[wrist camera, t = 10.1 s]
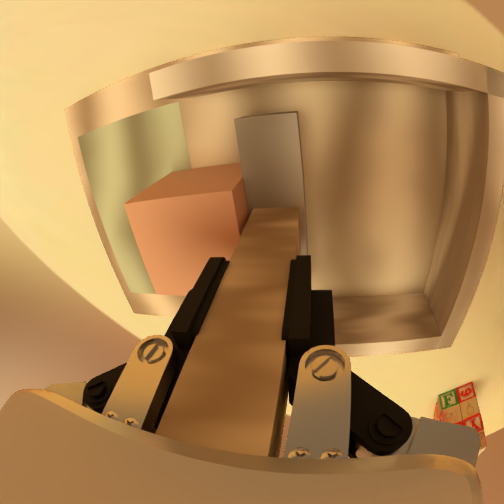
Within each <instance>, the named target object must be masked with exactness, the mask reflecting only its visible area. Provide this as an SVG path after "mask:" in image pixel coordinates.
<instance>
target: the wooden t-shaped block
mask: <svg viewBox="0 0 504 504" xmlns="http://www.w3.org/2000/svg"><path fill="white" fill-rule="evenodd" d="M234 124H235V130H236V137H237V143H238V150H239V156H240V163H241V169H242V176H243V182H244V189H245V196H246V202H247V209H248V215H249V219H248V221H247V223H246V225H245V227H244V229H243V232H242V234H241V236H240V238H239V240H238V243H237V245H236V247H235V249H234V252H233V254H232V256H231V258H230V260H229V261H230V262H229V265H228V267H227V269H226V272H225V274H224V276H223V278H222V281H221V283H220V285H219V287H218V290H217V292H216V294H215V297H214V299H213V301H212V304H211V306H210V308H209V311H208V313H207V315H206V317H205V320H204V322H203V324H202V327H201V329H200V331H199V334H198V335H196V338H195V340H194V342H193V345H192V347H191V349H190V352H189V354H188V356H187V359H186V361H185V363H184V366H183V368H182V371H181V373H180V375H179V378H178V380H177V382H176V385H175V387H174V390H173V392H172V394H171V397H170V399H169V402H168V404H167V406H166V409H165V411H164V414H163V416H162V419H161V421H160V423H159V426H158V428H157V431H156V433H155V434H156V435H160V436H163V437H167V438H170V439H174V440H177V441H181V442H185V443H189V444H193V445H198V446H202V447H207V448H212V449H217V450H223V451H229V452H235V453H241V454H249V455H257V456H266V457H278V458H279V453H280V447H281V441H282V434H283V427H284V420H285V413H286V406H287V398H288V391H289V390H288V376H287V374H288V369H287V354H286V340H281V334H282V325H283V318H284V311H285V303H286V295H287V287H288V279H289V271H290V262H291V259H296V256H297V255H308V244H307V220H306V202H305V186H304V172H303V160H302V149H301V138H300V128H299V119H298V111H290V112H277V113H266V114H257V115H249V116H244V117H240V118H236V119H234Z"/></svg>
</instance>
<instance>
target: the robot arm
mask: <svg viewBox="0 0 504 504" xmlns="http://www.w3.org/2000/svg"><path fill="white" fill-rule="evenodd" d="M229 262H230V261H226V258H225V257H210V258H209V260H208V262H207V263H206V265H205V267H204V269H203V271H202V272H201V274H200V276H199V278H198V280H197V281H196V283H195V285H194V287H193V289H191V290H190V291H189V292H188V293H187V295H186V297H185V299H184V301H183V302H182V304H181V306H180V308H179V310H178V312H177V313H176V315H175V317H174V319H173V321H172V323H171V324H170V326H169V328H168V330H167V332H166V334H165V336H162V335H153V336H149V337H147V338H145V339H143V340H142V341H141V342H140V343H139V344H138V345H137V346H136V347H135V349H134V351H133V353H132V355H131V357H130V358H129V360H128V362H127V363H125V364H123V365H120V366H118V367H116V368H114V369H112V370H110V371H108V372H105V373H103V374H101V375H99V376H96V377H95V378H93V379H91V380H90V381H89V382H88V383H86V382H73V383H59V384H51V385H49V386H47V387H46V388H45V389H44V390H42V389H23V390H19V391H17V392H15V393H14V394H12V395H11V397H10V398H9V399H8V400H7V402H6V403H5V404H4V406H3V407H2V409H1V410H0V504H484V502H483V493H482V487H481V482H480V479H479V476H478V474H477V471H476V470H475V465H476V461H477V458H478V454H479V449H480V436H479V433H478V432H477V431H476V430H475V429H474V428H471V427H469V426H463V425H458V424H453V423H448V422H443V421H438V420H434V419H429V418H425V417H420V418H419V419H417V418H413V417H410V415H409V414H408V413H407V412H406V411H405V410H404V409H403V408H402V407H400V406H399V405H397V404H396V403H395V402H393V401H392V400H390V399H389V398H388V397H386V396H385V395H383V394H382V393H381V392H379V391H378V390H376V389H375V388H374V387H372V386H371V385H370V384H368V383H367V382H365V381H364V380H363V379H361V378H360V377H359V376H357V375H356V374H355V373H353V372H352V371H351V363H350V358H349V357H348V355H347V354H346V353H345V352H344V351H343V350H342V349H340V348H338V347H335V329H334V311H333V297H332V290H312V287H311V255H297V256H296V259H291V262H290V271H289V279H288V287H287V295H286V303H285V311H284V318H283V325H282V334H281V340H286V354H287V369H288V374H287V376H288V390H289V403H290V404H291V405H292V406H293V407H292V413H291V419H290V425H289V430H288V435H287V441H286V446H285V451H284V456H283V458H278V457H266V456H257V455H249V454H241V453H235V452H229V451H223V450H217V449H212V448H207V447H202V446H198V445H193V444H189V443H185V442H181V441H177V440H174V439H170V438H167V437H163V436H160V435H156V434H155V433H156V431H157V428H158V426H159V423H160V421H161V419H162V416H163V414H164V411H165V409H166V406H167V404H168V402H169V399H170V397H171V394H172V392H173V390H174V387H175V385H176V382H177V380H178V378H179V375H180V373H181V371H182V368H183V366H184V363H185V361H186V359H187V356H188V354H189V352H190V349H191V347H192V345H193V342H194V340H195V338H196V335H198V334H199V331H200V329H201V327H202V324H203V322H204V320H205V317H206V315H207V313H208V311H209V308H210V306H211V304H212V301H213V299H214V297H215V294H216V292H217V290H218V287H219V285H220V283H221V281H222V278H223V276H224V274H225V272H226V269H227V267H228V265H229ZM348 456H349V457H350V459H348Z"/></svg>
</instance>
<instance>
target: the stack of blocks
mask: <svg viewBox="0 0 504 504" xmlns="http://www.w3.org/2000/svg"><path fill="white" fill-rule="evenodd" d="M434 420H438V421H443V422H448V423H453V424H458V425H463V426H469V427H471V428H474V429H475V430H476V431H477V432H478V433H479V436H480V449H479V454H480V453H481V452H482V451H484V449H485V448H486V447H487V444H486V439H485V433H484V427H483V422H482V418H481V414H480V410H479V407H478V403H477V399H476V394H475V391H474V387H473V383H472V382H470V383H468V384H465V385H463V386H460V387H458V388H456V389H453V390H451V391H448V392H445V393H443V394H440V395H438V399H437V403H436V407H435V412H434ZM479 454H478V455H479Z"/></svg>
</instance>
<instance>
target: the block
mask: <svg viewBox="0 0 504 504" xmlns="http://www.w3.org/2000/svg"><path fill="white" fill-rule="evenodd" d="M124 206H125V210H126V213H127V216H128V219H129V222H130V225H131V228H132V231H133V234H134V237H135V240H136V243H137V245H138V248H139V251H140V254H141V257H142V259H143V262H144V265H145V267H146V270H147V272H148V275H149V277H150V280H151V282H152V285H153V287H154V290H155V292H156V294H160V295H179V296H186V295H187V293H188V292H189V291H190V290H191V289H193V287H194V285H195V283H196V281H197V280H198V278H199V276H200V274H201V272H202V271H203V269H204V267H205V265H206V263H207V262H208V260H209V258H210V257H225V258H226V261H229V260H230V258H231V256H232V254H233V252H234V249H235V247H236V245H237V243H238V240H239V238H240V236H241V234H242V232H243V229H244V227H245V225H246V223H247V221H248V219H249V215H248V209H247V202H246V196H245V189H244V182H243V176H242V169H241V163H232V164H224V165H216V166H208V167H201V168H194V169H188V170H181V171H175V172H171V173H169V174H168V175H166V176H165V177H163V178H162V179H160V180H158V181H157V182H155V183H154V184H152V185H151V186H149V187H148V188H146V189H145V190H143V191H142V192H140V193H139V194H137V195H136V196H135V197H133V198H132V199H130V200H129V201H127V202H126V203H125V204H124Z"/></svg>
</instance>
